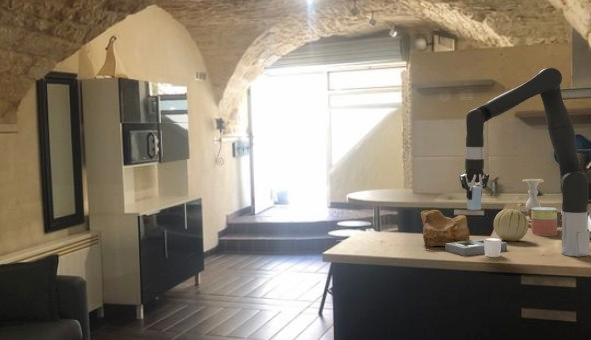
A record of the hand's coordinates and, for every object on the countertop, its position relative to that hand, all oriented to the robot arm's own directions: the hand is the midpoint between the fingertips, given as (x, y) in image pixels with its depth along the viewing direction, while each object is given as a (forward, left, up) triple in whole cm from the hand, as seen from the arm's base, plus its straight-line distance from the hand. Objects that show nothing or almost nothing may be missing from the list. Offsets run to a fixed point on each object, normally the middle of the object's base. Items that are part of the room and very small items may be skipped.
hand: (474, 199), depth 248 cm
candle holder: (+34, -66, -22) cm, 78 cm away
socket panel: (-1, 0, -22) cm, 22 cm away
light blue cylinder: (0, 0, -4) cm, 4 cm away
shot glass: (-12, +1, -22) cm, 25 cm away
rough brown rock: (+16, +6, -22) cm, 28 cm away
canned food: (+15, -54, -22) cm, 61 cm away
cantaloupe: (+9, -28, -22) cm, 37 cm away
